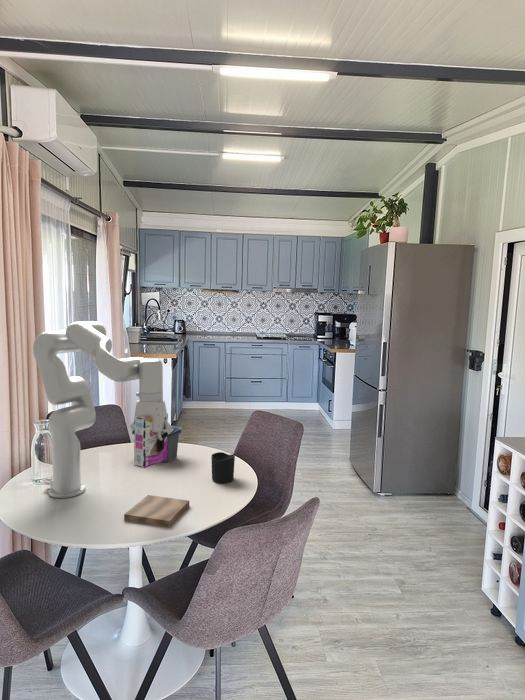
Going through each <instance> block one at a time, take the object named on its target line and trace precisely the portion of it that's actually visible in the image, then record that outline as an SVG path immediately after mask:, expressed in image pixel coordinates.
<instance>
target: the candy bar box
mask: <svg viewBox="0 0 525 700" xmlns="http://www.w3.org/2000/svg"><path fill="white" fill-rule="evenodd" d="M133 418H134V420H133V422H134V434H133V435H134V436H133V437H134V439H133V440H134V441H133V442H134V444H133V445H134V446H133V447H134V452H133V455H134V459H133V460H134V462H133V464H134V465H133V466H134V467H137V468H141V469H146V468H149V467H151V466H153V465H157V464H159V463H163V462H162V461H164V460H167V441H168V438H167V437H168V436H167V437H166V438H165V439H164V444H165V447H164V450H162V451H161V452H158V451H157V441H158V440H159V438H158V435H157V433H154V432H152V418H151V417H146V416H137V417H135V416H134V417H133ZM168 419H169V415H168V412H167V422H168V423H169V420H168ZM166 431H167V428H166V429H164V432H166Z"/></svg>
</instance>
